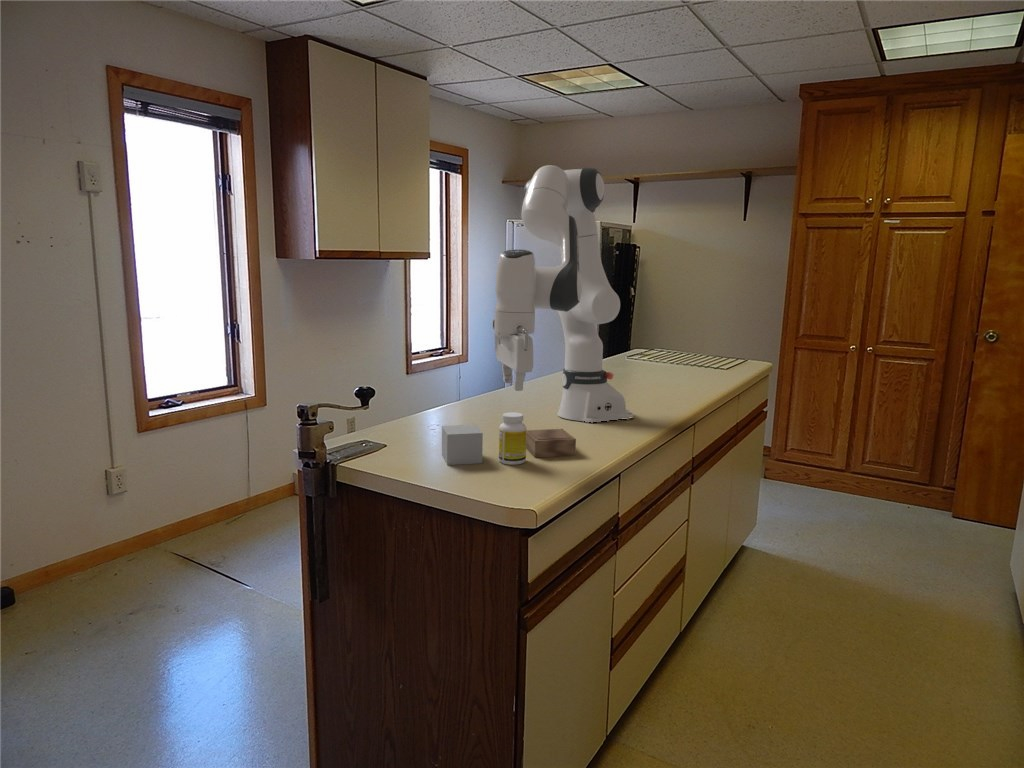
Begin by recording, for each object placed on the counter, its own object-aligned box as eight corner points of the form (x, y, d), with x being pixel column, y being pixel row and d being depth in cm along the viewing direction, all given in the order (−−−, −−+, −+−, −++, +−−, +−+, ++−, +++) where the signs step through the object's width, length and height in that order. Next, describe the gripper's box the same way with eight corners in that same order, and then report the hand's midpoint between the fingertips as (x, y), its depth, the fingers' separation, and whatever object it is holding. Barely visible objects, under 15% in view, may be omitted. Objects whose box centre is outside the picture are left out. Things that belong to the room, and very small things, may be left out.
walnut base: (561, 444, 166) (562, 428, 166) (575, 455, 157) (575, 438, 156) (523, 446, 164) (523, 429, 163) (534, 457, 154) (535, 440, 154)
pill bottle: (531, 461, 151) (532, 414, 149) (513, 467, 147) (514, 418, 145) (511, 456, 155) (512, 410, 153) (493, 461, 151) (493, 414, 149)
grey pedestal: (475, 453, 157) (475, 424, 156) (482, 463, 149) (482, 433, 148) (441, 454, 155) (441, 425, 154) (447, 465, 147) (447, 434, 146)
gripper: (541, 329, 136) (539, 395, 139) (516, 320, 156) (515, 378, 158) (512, 329, 135) (510, 395, 137) (490, 320, 154) (489, 379, 157)
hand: (512, 386), depth 148 cm, fingers open, 8 cm apart
